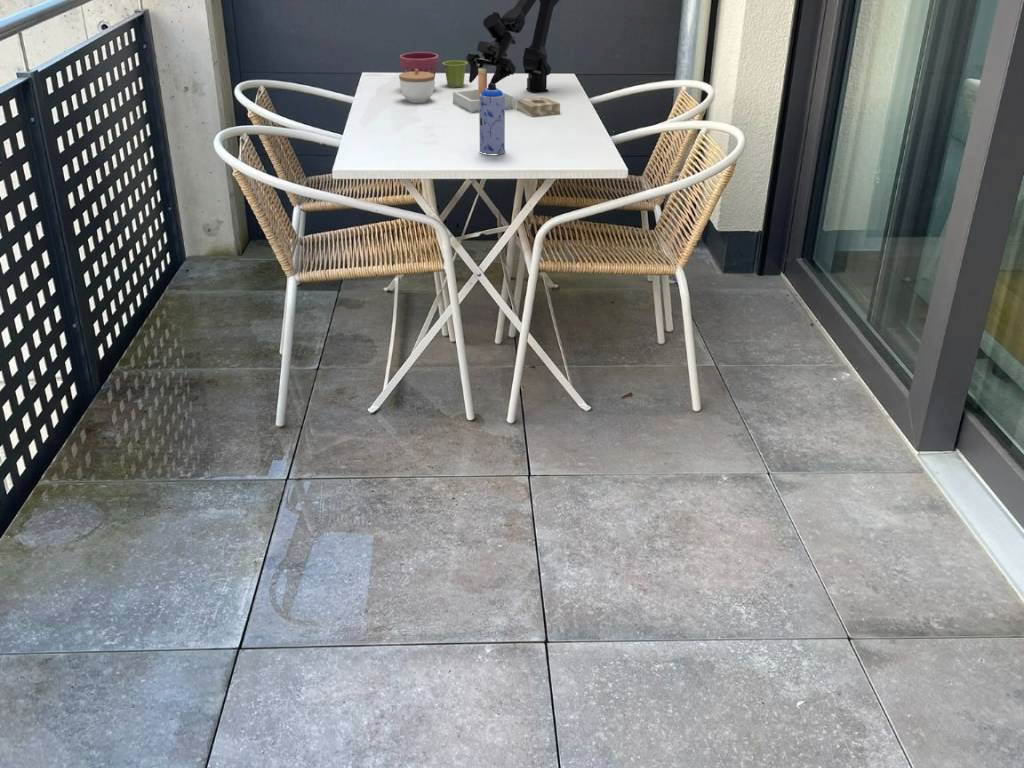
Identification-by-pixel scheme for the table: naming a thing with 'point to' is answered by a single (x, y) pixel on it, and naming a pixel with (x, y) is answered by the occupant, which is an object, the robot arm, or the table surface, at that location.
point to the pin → (482, 80)
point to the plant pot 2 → (455, 73)
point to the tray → (475, 100)
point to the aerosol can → (492, 120)
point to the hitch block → (538, 106)
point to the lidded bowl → (417, 85)
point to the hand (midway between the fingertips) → (480, 83)
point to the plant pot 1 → (419, 62)
